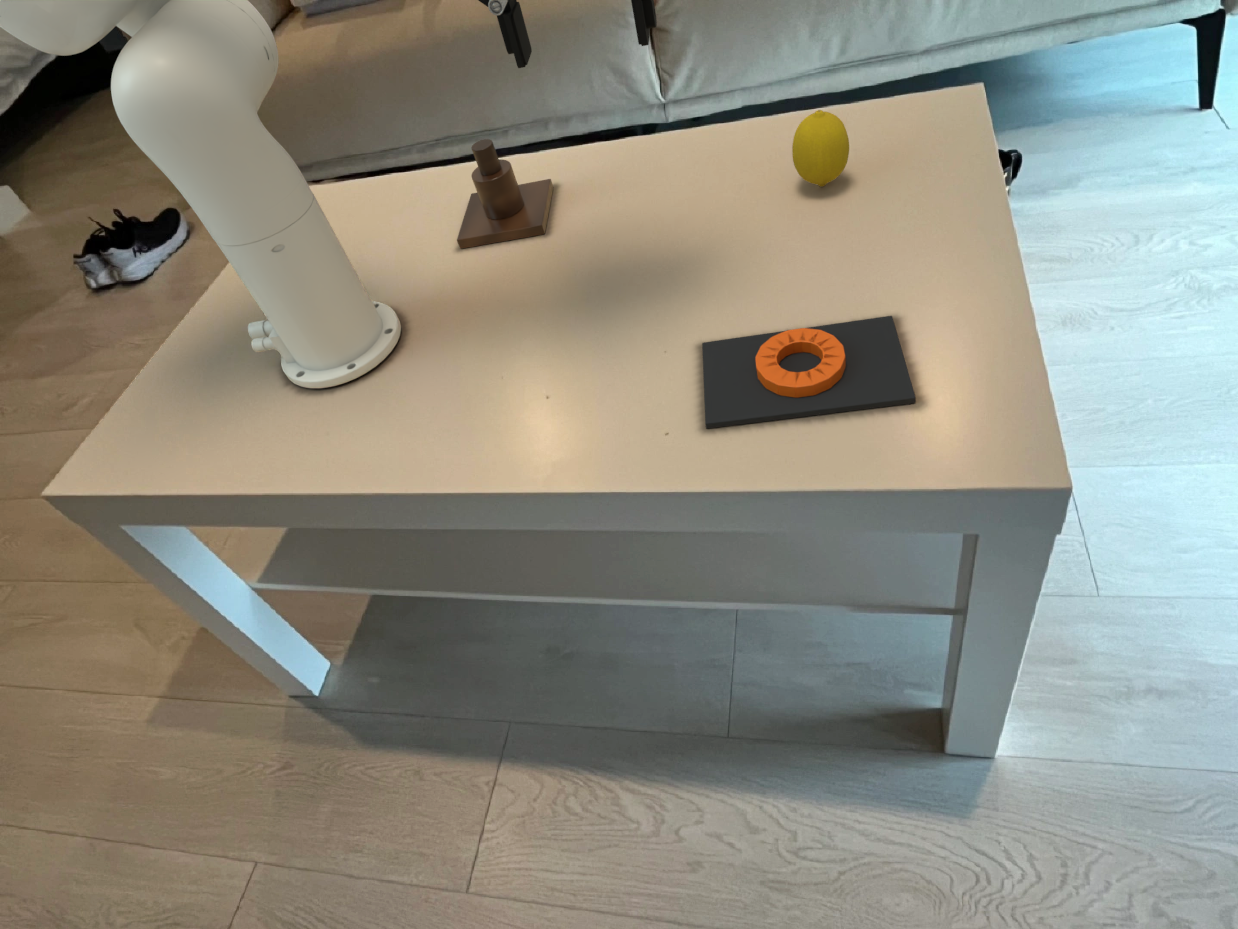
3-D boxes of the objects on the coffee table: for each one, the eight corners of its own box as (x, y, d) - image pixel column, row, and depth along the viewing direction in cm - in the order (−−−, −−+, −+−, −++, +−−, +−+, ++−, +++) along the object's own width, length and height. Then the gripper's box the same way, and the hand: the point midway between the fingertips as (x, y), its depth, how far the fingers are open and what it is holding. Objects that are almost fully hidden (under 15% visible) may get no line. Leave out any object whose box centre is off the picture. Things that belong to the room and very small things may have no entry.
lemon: (849, 197, 82) (848, 121, 76) (793, 202, 84) (787, 128, 78) (850, 168, 86) (849, 93, 80) (796, 174, 87) (791, 100, 81)
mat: (706, 429, 65) (705, 423, 65) (703, 347, 72) (702, 342, 71) (915, 403, 62) (915, 397, 62) (891, 320, 69) (892, 315, 68)
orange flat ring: (760, 402, 65) (758, 391, 64) (754, 345, 70) (752, 334, 69) (850, 391, 64) (850, 379, 63) (838, 333, 68) (838, 322, 67)
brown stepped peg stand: (460, 249, 92) (429, 176, 86) (474, 202, 99) (447, 131, 92) (544, 234, 90) (520, 158, 84) (553, 187, 97) (531, 114, 90)
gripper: (380, -186, 51) (470, 89, 63) (656, -255, 47) (694, 50, 60) (409, -210, 55) (488, 49, 68) (660, -274, 52) (695, 11, 65)
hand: (584, 49), depth 64 cm, fingers open, 9 cm apart
